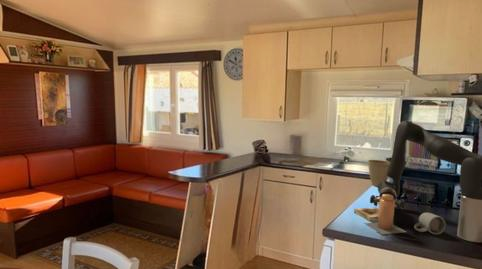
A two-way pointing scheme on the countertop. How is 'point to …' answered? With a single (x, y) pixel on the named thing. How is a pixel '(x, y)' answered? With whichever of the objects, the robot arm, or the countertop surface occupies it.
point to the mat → (385, 232)
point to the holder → (368, 213)
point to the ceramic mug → (430, 223)
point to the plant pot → (378, 171)
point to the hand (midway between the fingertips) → (386, 205)
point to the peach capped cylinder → (386, 212)
